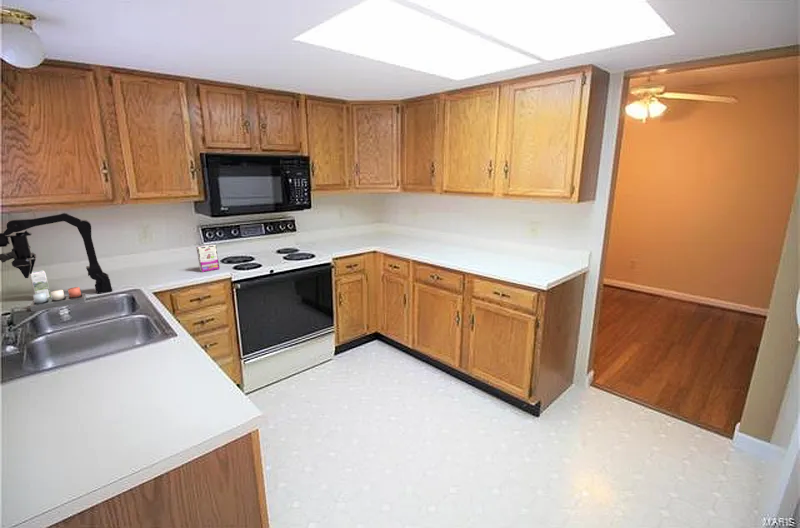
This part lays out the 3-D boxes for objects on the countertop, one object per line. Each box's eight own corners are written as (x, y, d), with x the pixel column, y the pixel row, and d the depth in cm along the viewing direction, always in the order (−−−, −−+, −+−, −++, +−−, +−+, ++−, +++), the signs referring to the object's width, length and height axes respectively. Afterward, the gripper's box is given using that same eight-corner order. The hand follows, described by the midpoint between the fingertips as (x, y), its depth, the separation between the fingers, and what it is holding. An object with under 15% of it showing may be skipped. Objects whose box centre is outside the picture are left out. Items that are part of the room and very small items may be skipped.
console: (86, 297, 198) (85, 292, 198) (85, 302, 191) (83, 297, 190) (34, 305, 187) (33, 300, 186) (31, 311, 179) (29, 306, 179)
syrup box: (49, 294, 202) (43, 269, 198) (51, 297, 198) (45, 271, 194) (35, 297, 198) (28, 271, 194) (37, 300, 194) (30, 274, 190)
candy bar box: (217, 267, 254) (214, 244, 250) (219, 269, 251) (216, 245, 246) (199, 271, 247) (195, 246, 243) (201, 272, 243) (197, 247, 239)
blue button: (48, 299, 187) (46, 291, 186) (46, 301, 184) (44, 294, 183) (35, 301, 185) (33, 293, 184) (34, 303, 181) (31, 296, 180)
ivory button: (65, 296, 191) (63, 289, 190) (64, 299, 188) (62, 291, 187) (53, 298, 189) (51, 290, 188) (52, 301, 185) (50, 293, 184)
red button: (81, 293, 195) (79, 286, 194) (81, 296, 191) (79, 288, 190) (70, 295, 192) (68, 288, 191) (69, 298, 189) (67, 290, 188)
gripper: (1, 244, 186) (9, 274, 190) (-8, 250, 171) (1, 283, 175) (32, 241, 192) (39, 270, 196) (25, 247, 178) (33, 279, 181)
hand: (28, 275), depth 187 cm, fingers open, 9 cm apart
